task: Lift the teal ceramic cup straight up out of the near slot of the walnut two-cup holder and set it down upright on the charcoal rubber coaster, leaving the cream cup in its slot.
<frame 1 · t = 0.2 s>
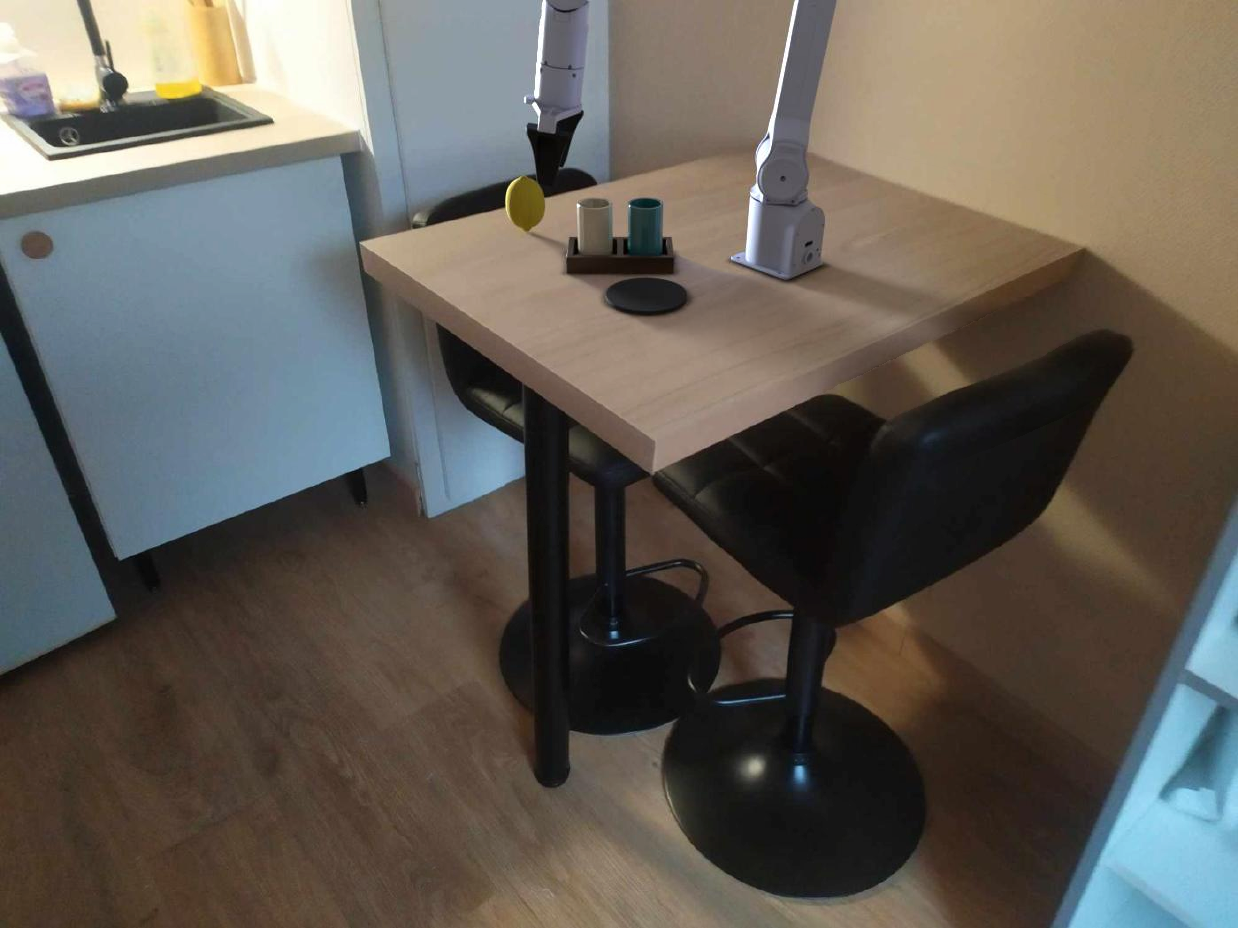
hand: (551, 175, 119), 11 cm above the table, tool pointing down, fingers open, 7 cm apart
teal cup: (644, 262, 122), resting in holder
cream cup: (595, 262, 122), resting in holder
lemon: (527, 233, 132), on the table
holder: (620, 262, 122), on the table
coaster: (646, 297, 113), on the table
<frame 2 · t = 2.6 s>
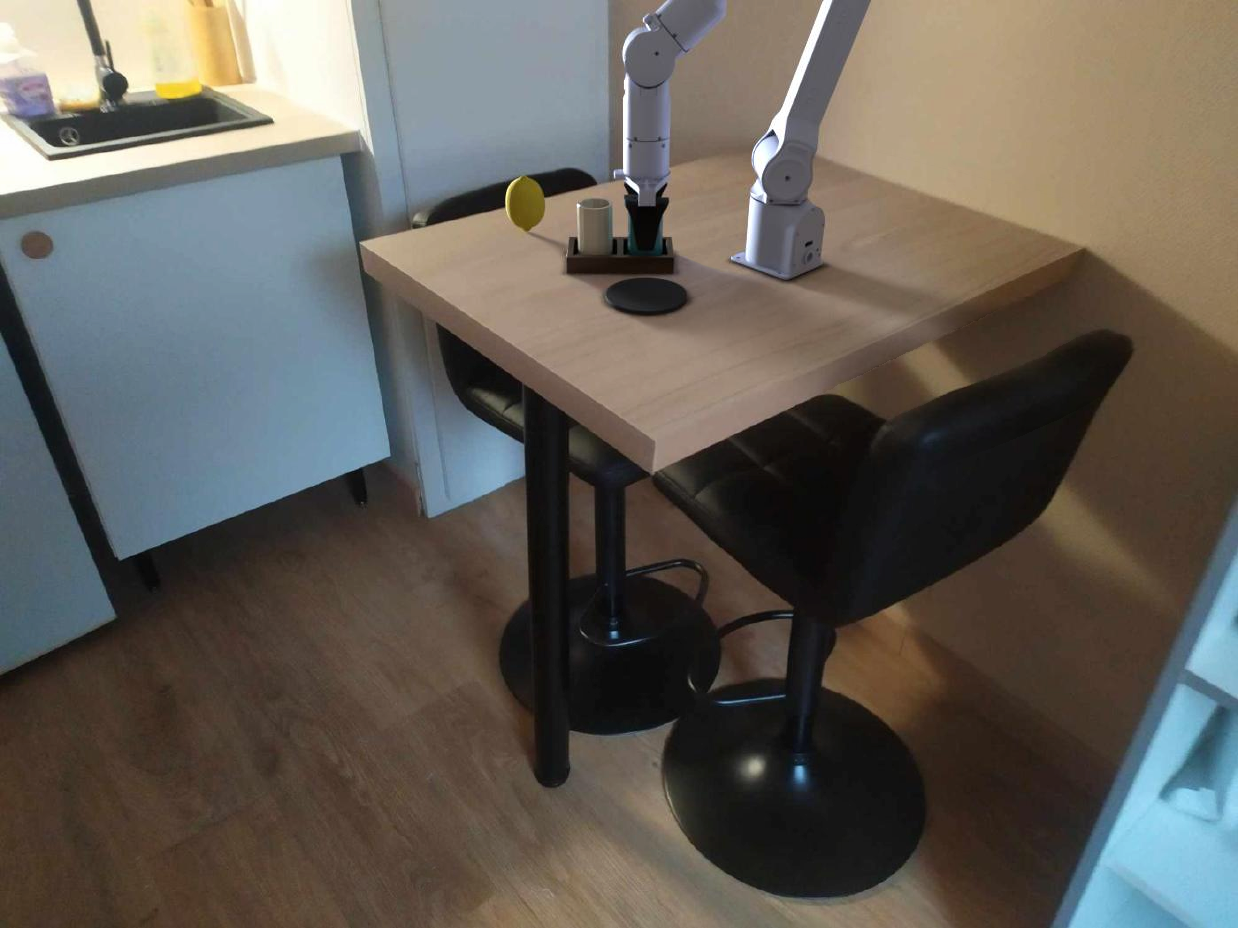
hand: (645, 242, 121), 3 cm above the table, tool pointing down, fingers closed on teal cup, 4 cm apart
teal cup: (644, 262, 122), resting in holder, touching gripper
everything else where it was.
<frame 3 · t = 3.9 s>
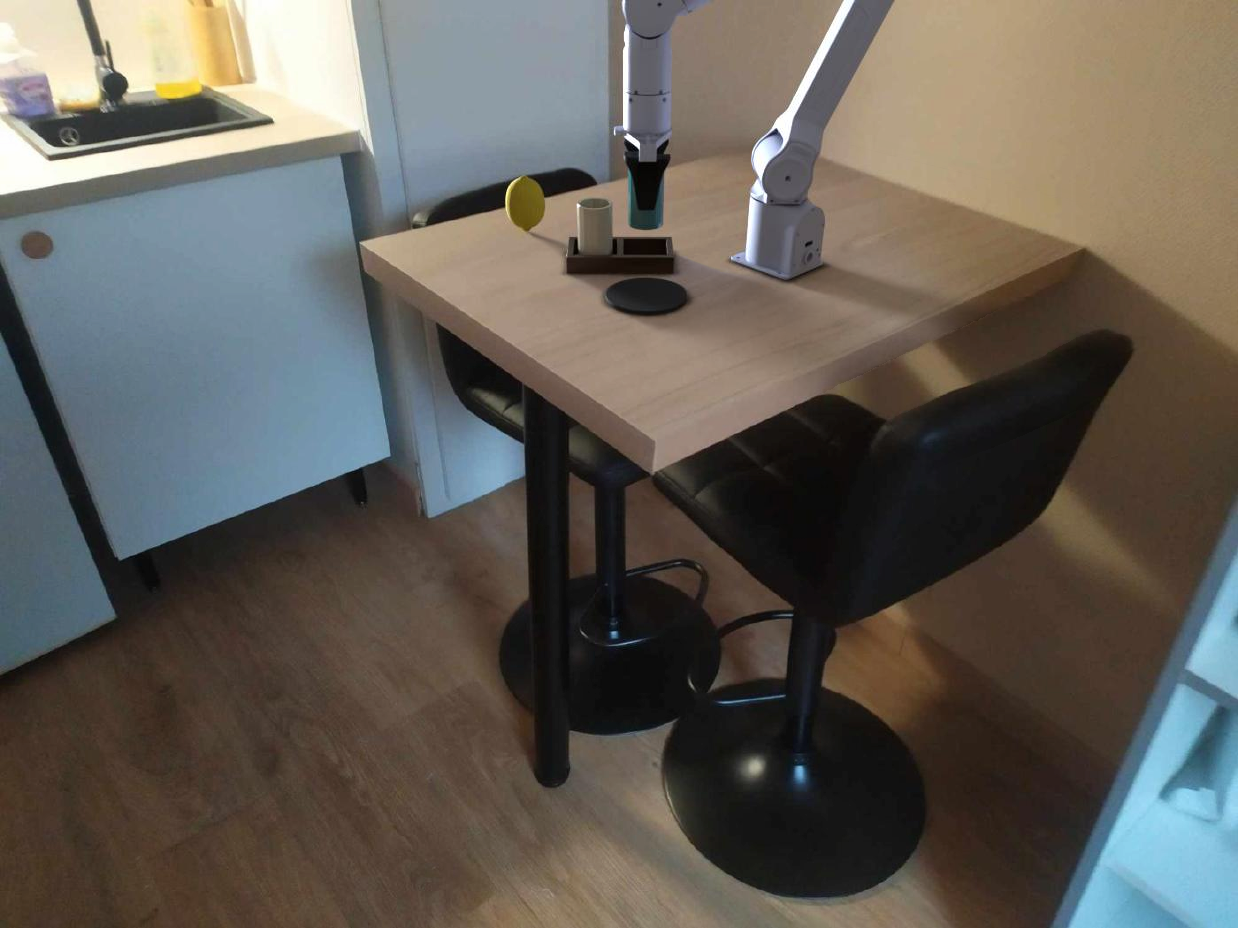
hand: (646, 202, 118), 8 cm above the table, tool pointing down, fingers closed on teal cup, 4 cm apart
teal cup: (645, 224, 119), point 5 cm above the table, touching gripper
everything else where it was.
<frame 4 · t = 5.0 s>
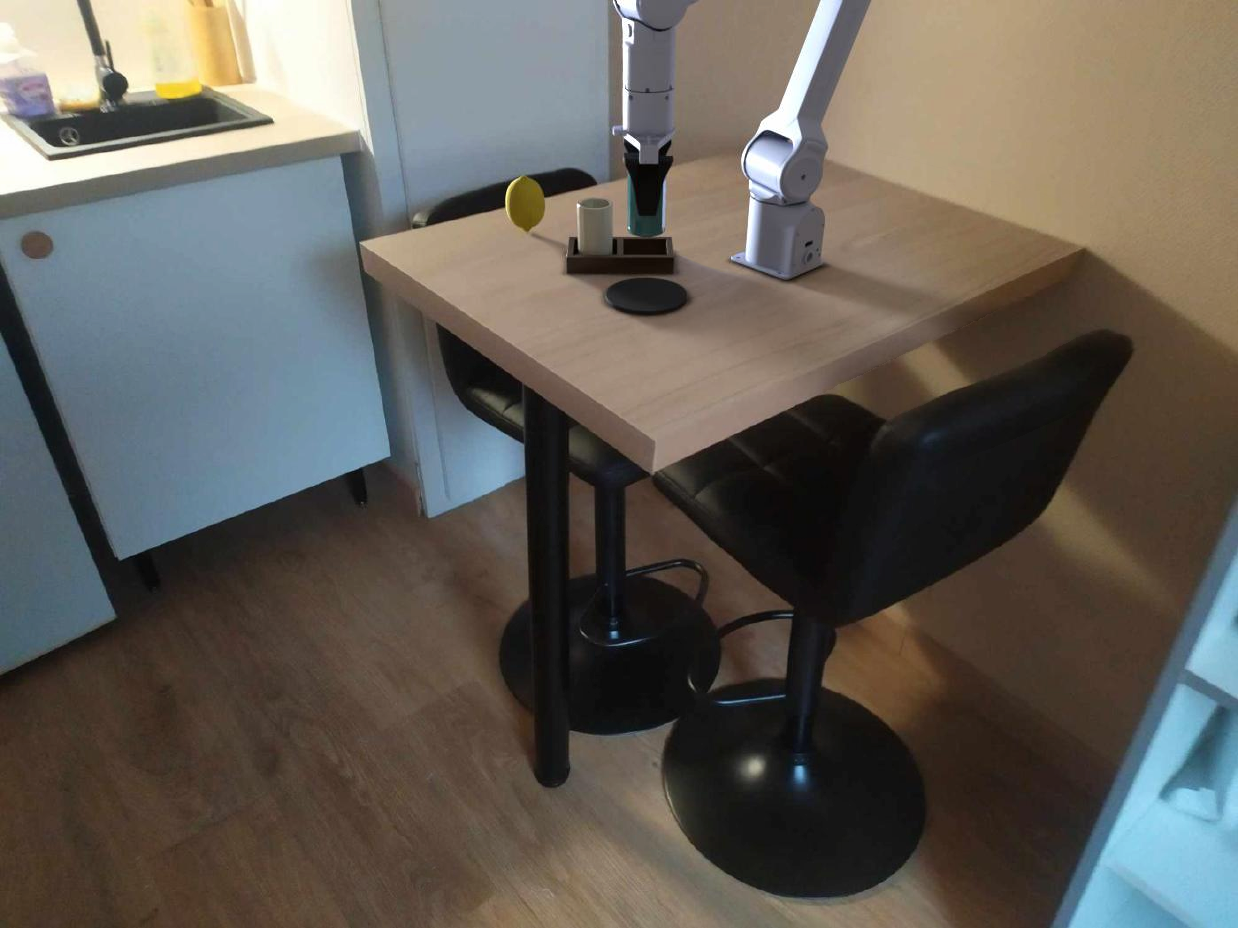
hand: (646, 207, 110), 10 cm above the table, tool pointing down, fingers closed on teal cup, 4 cm apart
teal cup: (646, 230, 111), point 7 cm above the table, touching gripper
everything else where it was.
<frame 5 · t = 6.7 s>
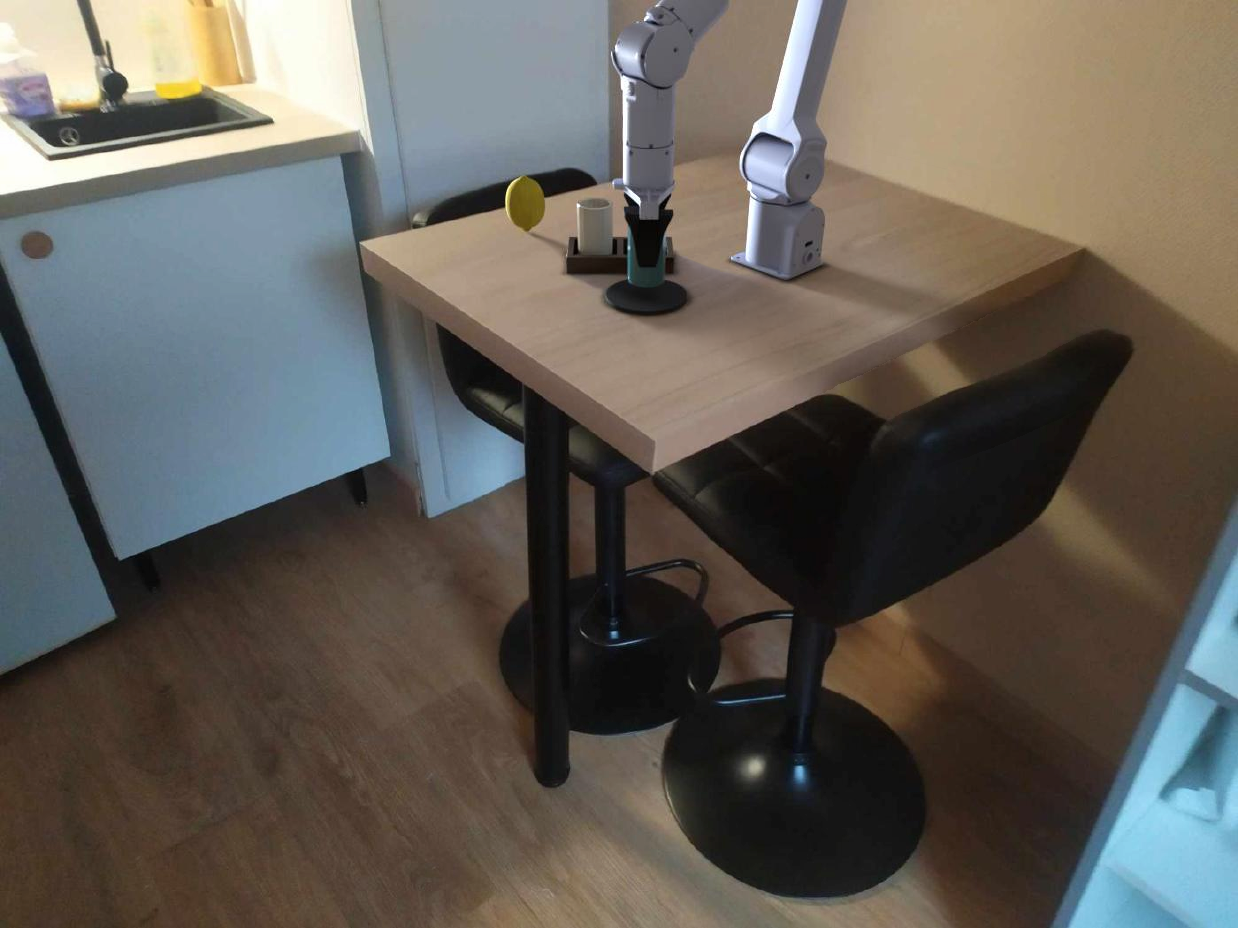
hand: (646, 258, 110), 5 cm above the table, tool pointing down, fingers closed on teal cup, 4 cm apart
teal cup: (646, 280, 112), point 2 cm above the table, touching gripper
everything else where it was.
when the fingers open (3 cm above the table, at t = 7.8 s): teal cup stays where it is, resting on coaster.
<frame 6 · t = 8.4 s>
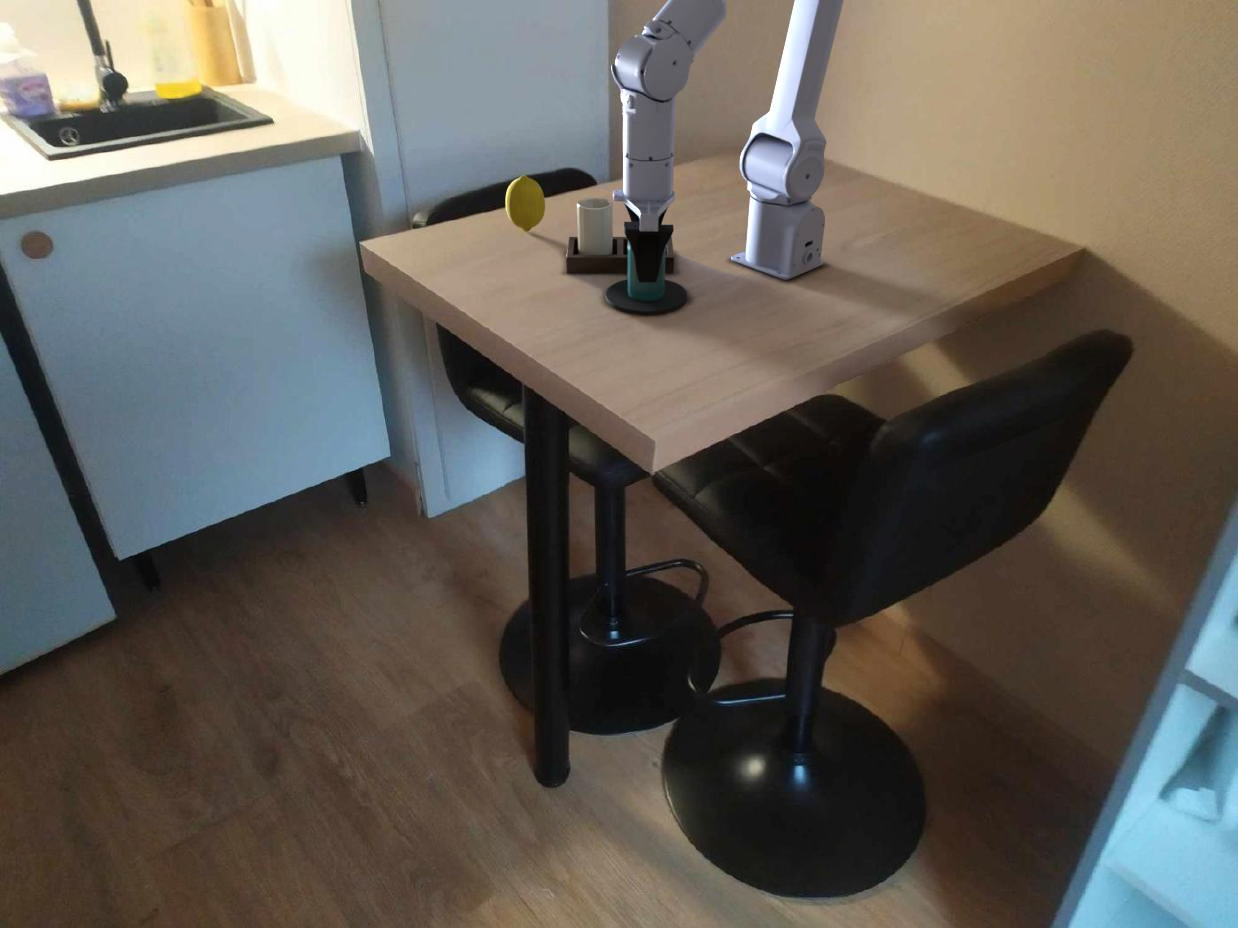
hand: (646, 268, 111), 4 cm above the table, tool pointing down, fingers open, 7 cm apart
teal cup: (646, 293, 113), resting on coaster
everything else where it was.
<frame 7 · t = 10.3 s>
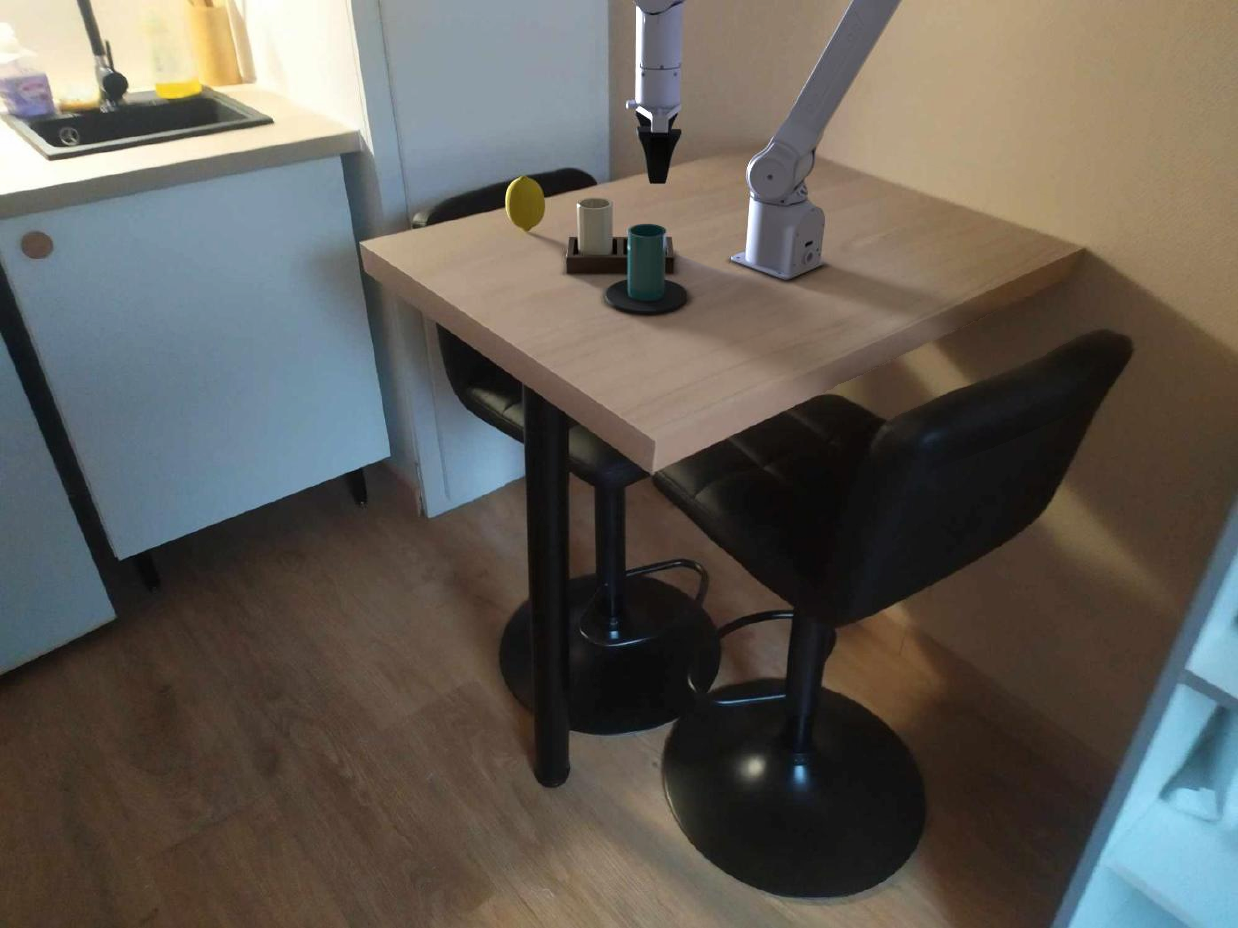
hand: (656, 174, 123), 9 cm above the table, tool pointing down, fingers open, 7 cm apart
nothing on the table moved.
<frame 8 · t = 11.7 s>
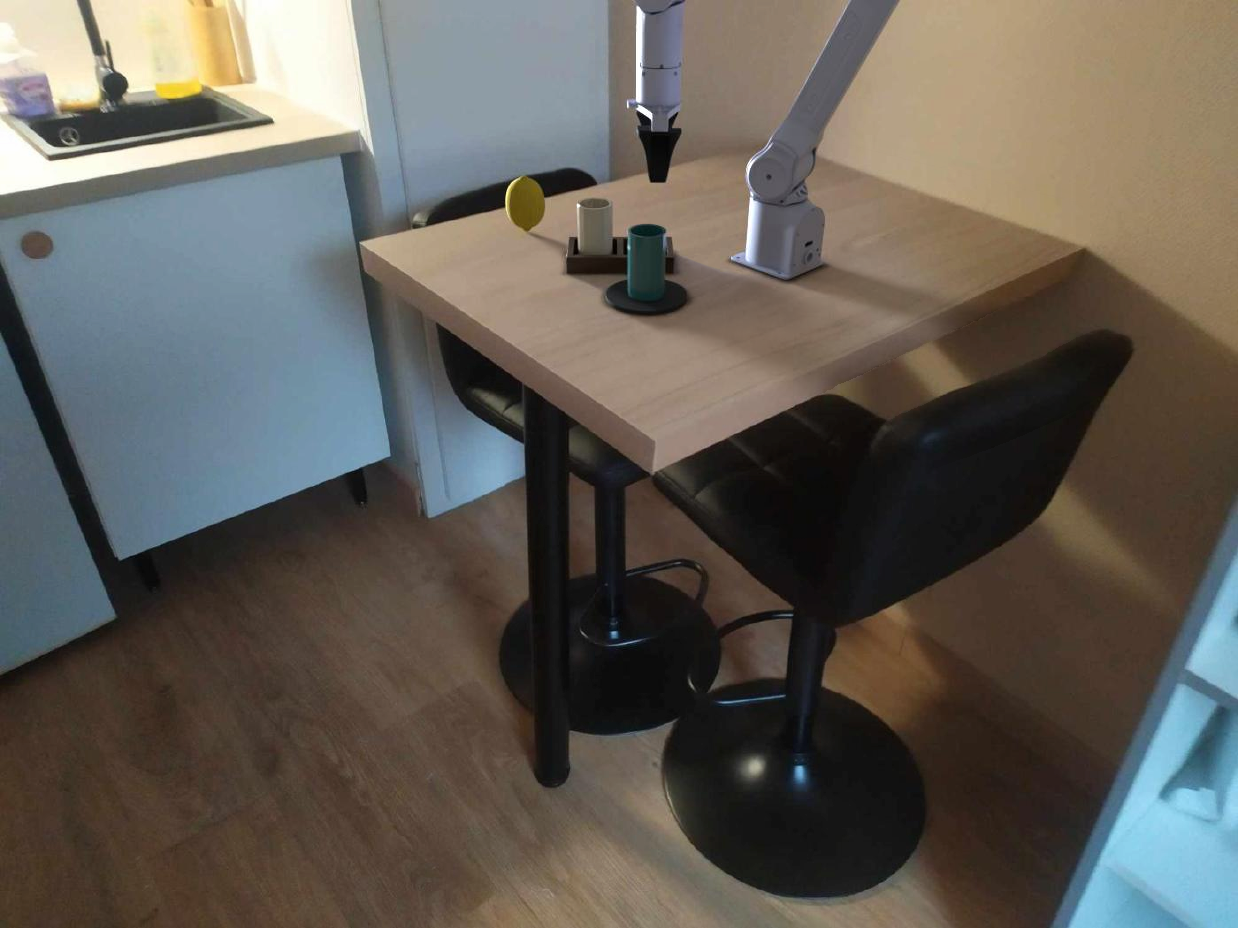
hand: (656, 173, 124), 9 cm above the table, tool pointing down, fingers open, 7 cm apart
nothing on the table moved.
at the end: teal cup 0.1 cm off-centre on the coaster, point 0.5 cm above the coaster's base; teal cup tilted 0°; cream cup moved 0.0 cm from its start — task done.
